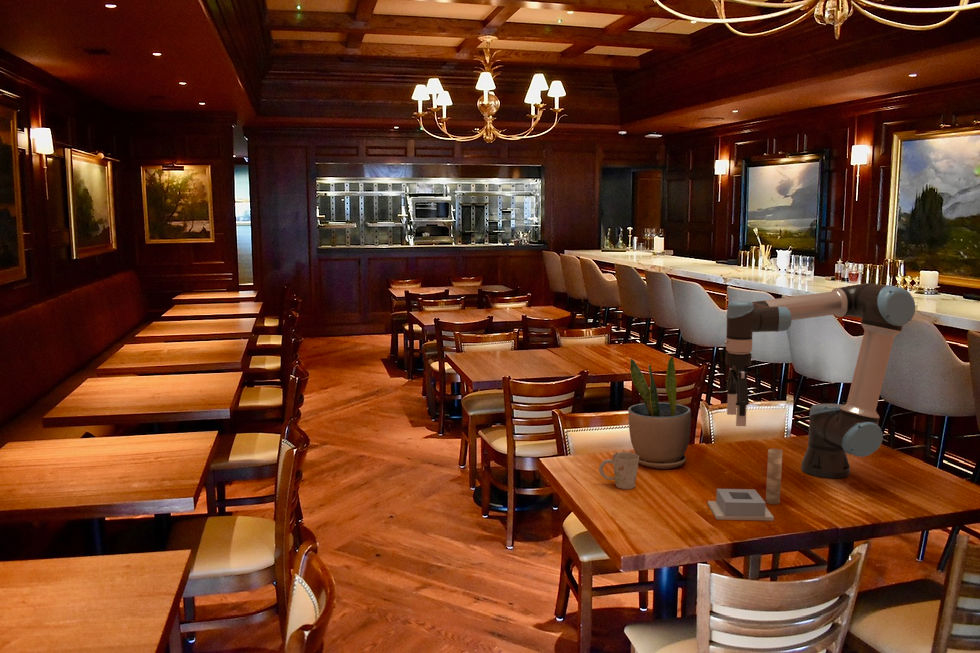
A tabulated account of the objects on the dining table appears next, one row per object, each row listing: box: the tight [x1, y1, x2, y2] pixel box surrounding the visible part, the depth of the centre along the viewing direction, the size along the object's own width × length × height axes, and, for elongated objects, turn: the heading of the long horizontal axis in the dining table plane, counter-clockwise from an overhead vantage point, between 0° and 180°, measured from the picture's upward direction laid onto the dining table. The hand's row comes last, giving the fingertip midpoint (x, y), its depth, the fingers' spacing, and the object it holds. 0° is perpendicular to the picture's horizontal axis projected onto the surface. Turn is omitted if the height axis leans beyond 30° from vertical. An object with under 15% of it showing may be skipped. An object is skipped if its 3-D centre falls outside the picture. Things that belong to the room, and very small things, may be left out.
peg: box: [765, 448, 783, 505], centre depth 238 cm, size 4×4×16 cm
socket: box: [707, 488, 775, 522], centre depth 231 cm, size 16×12×5 cm
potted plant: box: [627, 355, 692, 470], centre depth 274 cm, size 21×22×40 cm
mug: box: [598, 451, 639, 490], centre depth 253 cm, size 8×13×10 cm, turn 78°
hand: (736, 420), depth 244 cm, fingers open, 13 cm apart
